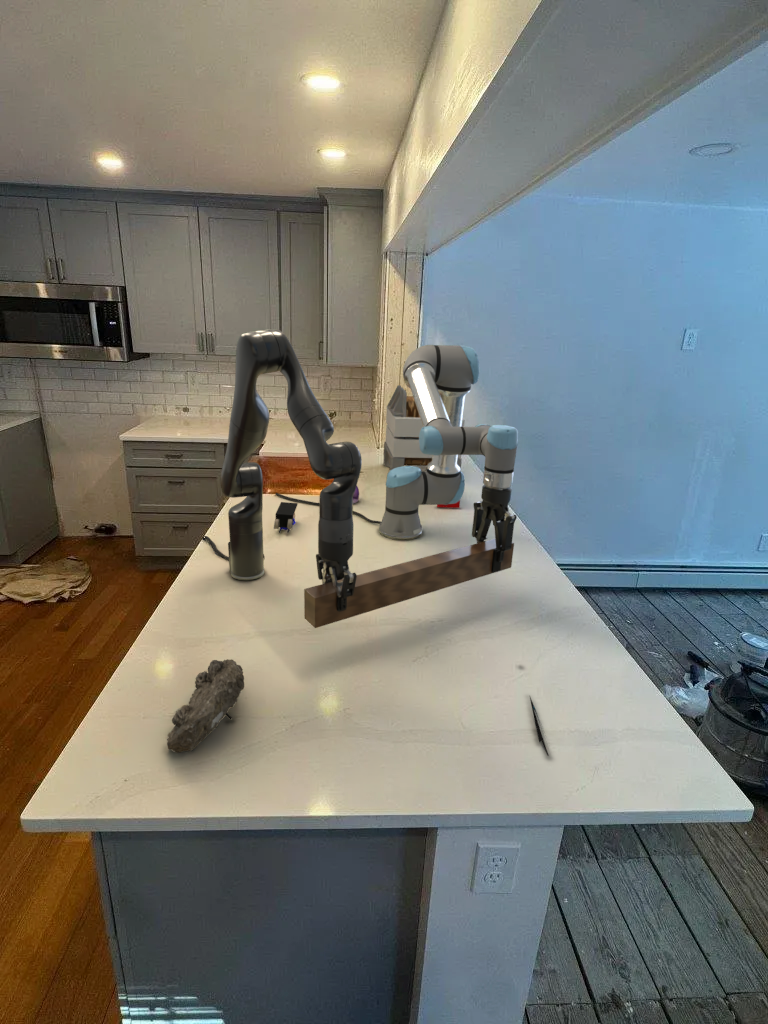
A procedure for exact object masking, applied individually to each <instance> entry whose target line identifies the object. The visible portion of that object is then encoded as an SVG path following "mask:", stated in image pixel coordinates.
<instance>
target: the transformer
mask: <svg viewBox="0 0 768 1024" xmlns="http://www.w3.org/2000/svg"><path fill="white" fill-rule="evenodd" d="M407 394H408V393H407V390H406V389H404V388H403V387H402V385H399V384H398V385H397V386H396V388H395V390H394V392H393V394H392V395H391V398H390V400H389V402H388V404H387V405H386V413H385V414H386V415H385V423H386V428H385V438H384V442H383V466H384V467H388V468H389V471H390V470H392V469H394V468H397V467H402V466H416V467H427V465H428V464H429V463H430V462H431V461H432V455H428V454H423V453H422V452H421V450H420V444H419V434H420V430H421V429H422V427H423V425H422V422H421V419H420V416H419V413H418V410H417V407H416V404H415V401H414V398H413V395H412V396H411V395H407ZM461 427H465V419H464V418H462V425H461ZM462 461H463V460H462V455H458V457H457V465H458V466H459V467H460V471H461V472H462Z"/></svg>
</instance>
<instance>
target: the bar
mask: <svg viewBox="0 0 768 1024" xmlns="http://www.w3.org/2000/svg"><path fill="white" fill-rule="evenodd" d="M494 549H496V540H495V538H492V539H487V540H484V542H480V543H477V542H476V543H473V544H470V545H465V546H462V547H458V548H454V549H451V550H447V551H443V552H438V553H436V554H432V555H428V556H424V557H421V558H417V559H416V558H415V559H413V560H409V561H404V562H401V563H398V564H394V565H390V566H386V567H383V568H382V567H381V568H379V569H375V570H371V571H367V572H363V573H359V574H356V575H357V577H356V583H355V589H354V594H353V596H349V597H347V608H346V610H344V611H341V612H339V611H337V609H336V607H337V592H336V587H334V586H333V582H329V583H325V584H322V583H321V584H318V585H314V586H310V587H307V588H304V589H303V600H304V601H303V603H304V604H303V606H304V608H303V609H304V610H303V611H304V613H303V615H304V619H305V621H307V623H309V624H310V626H312V627H313V628H314V629H318V628H320V627H325V626H327V625H330V624H334V623H337V622H340V621H343V620H346V619H350V618H353V617H356V616H359V615H362V614H366V613H370V612H372V611H376V610H379V609H381V608H385V607H388V606H391V605H395V604H398V603H401V602H405V601H408V600H411V599H414V598H418V597H421V596H424V595H428V594H431V593H435V592H436V591H437V592H438V591H440V590H443V589H447V588H449V587H450V588H451V587H453V586H457V585H459V584H463V583H466V582H469V581H473V580H475V579H476V580H477V579H479V578H482V577H485V576H488V575H492V574H493V573H492V572H491V569H492V560H493V551H494ZM514 549H515V542H513V541H512V547H511V549H510V550H507V551H504V558H503V561H502V562H501V569H500V571H499V572H502V571H504V570H507V569H511V568H512V565H513V556H514ZM341 581H343V579H342V580H338V581H337V582H341ZM340 590H341V591H342V586H340Z"/></svg>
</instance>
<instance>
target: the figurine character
mask: <svg viewBox="0 0 768 1024" xmlns="http://www.w3.org/2000/svg"><path fill="white" fill-rule="evenodd" d="M297 507H298V502H287V501H285V502H284V501H281V502H280V504H279V506H278V508H277V510H276V512H275V519H274V523H273V528H274V529H275V530H278V533H279V534H281V533H282V531H286V534H289V533H290V530H292V529H293V527H294V526H295V525H296V524H297V521H296V513H295V512H296V510H297Z"/></svg>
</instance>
